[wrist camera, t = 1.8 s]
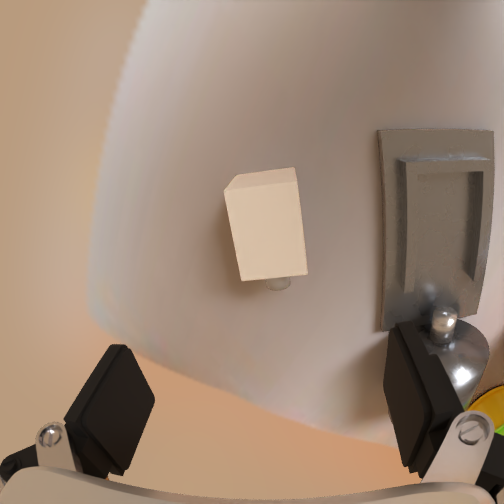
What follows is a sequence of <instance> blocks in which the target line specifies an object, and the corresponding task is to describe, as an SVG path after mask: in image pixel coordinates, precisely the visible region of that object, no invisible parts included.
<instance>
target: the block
mask: <svg viewBox="0 0 504 504" xmlns="http://www.w3.org/2000/svg"><path fill="white" fill-rule="evenodd" d="M224 196H225V201H226V206H227V212H228V217H229V222H230V227H231V232H232V237H233V242H234V247H235V252H236V257H237V262H238V267H239V272H240V276H241V281H249V280H259V279H266V285H267V288H268V289H270V290H274V291H278V290H283V289H286V288H287V287H289V285H290V277H289V276H298V275H307V274H308V271H307V261H306V252H305V242H304V233H303V225H302V216H301V208H300V200H299V192H298V184H297V178H296V173H295V168H294V167H291V168H283V169H275V170H268V171H261V172H254V173H247V174H240V175H236V176H235V177H234V178H233V180H232V181H231V182H230V183H229V185H228V186H227V187H226V188H225V190H224Z"/></svg>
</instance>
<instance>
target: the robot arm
mask: <svg viewBox="0 0 504 504" xmlns="http://www.w3.org/2000/svg"><path fill="white" fill-rule="evenodd" d="M383 387H384V393H385V396H386V400H387V404H388V407H389V411H390V415H391V419H392V422H393V426H394V430H395V434H396V438H397V443H398V447H399V451H400V455H401V460H402V464H403V466H404V467H407V466H408V468H409V472H410V473H414V472H418V475H419V477H420V478H422V481H421V482H420V483H419V484H412V485H405V486H400V487H393V488H387V489H381V490H375V491H369V492H362V493H356V494H348V495H338V496H329V497H319V498H306V499H283V500H248V499H224V498H211V497H200V496H191V495H183V494H176V493H169V492H162V491H157V490H151V489H145V488H140V487H135V486H130V485H126V484H122V483H117V482H113V481H109V478H108V473H109V472H110V473H112V474H115V475H120V476H123V474H124V472H125V470H127V469H128V468H129V466H130V464H131V461H132V458H133V456H134V453H135V451H136V448H137V445H138V443H139V440H140V438H141V436H142V433H143V430H144V428H145V425H146V423H147V420H148V418H149V416H150V413H151V411H152V408H153V406H154V403H155V397H154V394H153V393H152V391H151V389H150V387H149V385H148V383H147V381H146V379H145V377H144V375H143V373H142V371H141V369H140V367H139V365H138V363H137V361H136V359H135V357H134V355H133V353H132V351H131V349H129V348H128V347H127V346H126V345H124V344H112V345H110V346H109V348H108V349H107V351H106V352H105V354H104V355H103V357H102V358H101V360H100V361H99V363H98V364H97V366H96V367H95V369H94V371H93V372H92V374H91V375H90V377H89V379H88V380H87V382H86V383H85V385H84V386H83V388H82V389H81V391H80V393H79V394H78V396H77V397H76V399H75V401H74V402H73V404H72V406H71V407H70V409H69V411H68V412H67V414H66V416H65V417H64V421H65V422H66V424H65V425H63V424H62V423H59V422H51V423H48V424H46V425H44V426H43V427H42V428H41V429H40V430H39V431H38V433H37V435H36V444H34V445H32V446H30V447H28V448H25V449H23V450H21V451H18V452H16V453H14V454H11V455H9V456H8V457H6V458H5V459H4V460H3V461H2V463H1V465H0V504H504V435H501V434H498V433H496V432H494V430H495V429H494V423H493V422H492V420H491V418H490V417H489V416H488V415H486V414H485V413H483V412H481V411H475V410H471V411H466V412H465V411H464V409H463V406H462V404H461V402H460V400H459V398H458V395H457V393H456V391H455V389H454V387H453V385H452V383H451V381H450V378H449V376H448V374H447V372H446V370H445V368H444V366H443V364H442V362H441V360H440V358H439V357H438V355H437V354H430V355H429V353H428V351H427V349H426V347H425V345H424V343H423V341H422V339H421V337H420V335H419V333H418V331H417V329H416V327H415V326H414V324H413V322H412V321H411V320H410V321H404V322H398V323H395V325H394V328H390V330H389V340H388V349H387V358H386V366H385V374H384V381H383Z"/></svg>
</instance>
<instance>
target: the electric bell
mask: <svg viewBox="0 0 504 504" xmlns="http://www.w3.org/2000/svg"><path fill="white" fill-rule="evenodd" d="M377 132H378V142H379V153H380V166H381V180H382V200H383V290H382V310H381V324H380V326H381V329H382V332H384V331H389V330H390V328H394V325H395V323H398V322H404V321H410V320H411V321H412V322H413V324H414V326H415V327H416V329H417V331H418V333H419V335H420V337H421V339H422V341H423V343H424V345H425V347H426V349H427V351H428V353H429V355H430V354H437V355H438V357H439V358H440V360H441V362H442V364H443V366H444V368H445V370H446V372H447V374H448V376H449V378H450V381H451V383H452V385H453V387H454V389H455V391H456V393H457V395H458V398H459V400H460V402H461V404H462V406H463V409H464V411H465V412H466V411H467V409H468V407H469V405H470V403H471V400H472V398H473V396H474V394H475V391H476V389H477V387H478V384H479V382H480V380H481V377H482V375H483V372H484V370H485V367H486V364H487V362H488V359H489V345H488V342H487V340H486V338H485V337H484V335H483V334H482V333H481V332H480V331H479V330H478V329H477V328H475V327H474V326H472V325H471V324H469V323H467V322H465V321H462V320H459V319H457V318H461V317H465V316H470V315H474V314H477V309H478V305H479V300H480V296H481V291H482V286H483V281H484V275H485V269H486V263H487V257H488V250H489V242H490V233H491V224H492V212H493V196H494V132H493V131H490V130H472V129H400V130H377ZM388 412H389V417H390V420H391V422H392V419H391V415H390V411H389V407H388ZM392 424H393V422H392Z"/></svg>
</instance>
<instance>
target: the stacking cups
mask: <svg viewBox="0 0 504 504" xmlns="http://www.w3.org/2000/svg"><path fill="white" fill-rule="evenodd" d="M471 410H475V411H481V412H483V413H485V414H486V415H488V416H489V417H490V418H491V420H492V422H493V423H494V429H495V430H494V432H496V433H498V434H501V435H504V386H499V387H497V388H494V389H492V390H490V391H489V392H487V393H485V394H484V395H482V396H481V397H480V398H479V399H477V400H476V401H475V402H474V403H473V404H472V405H471V406H470V407H469V408H468V410H467V411H471Z"/></svg>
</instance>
